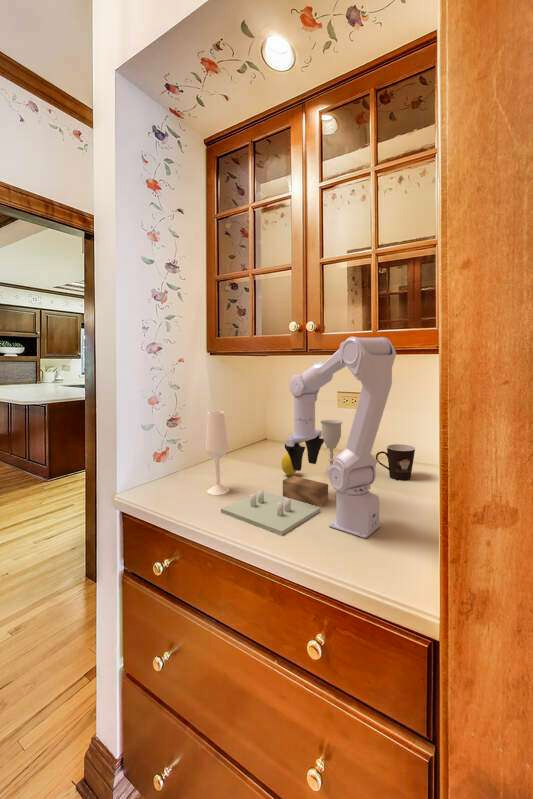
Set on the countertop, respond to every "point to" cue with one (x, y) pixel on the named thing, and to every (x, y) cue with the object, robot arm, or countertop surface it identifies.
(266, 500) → the peg base
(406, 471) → the coffee mug
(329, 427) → the chalice
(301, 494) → the shelf block
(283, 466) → the lemon
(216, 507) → the countertop surface
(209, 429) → the champagne flute
